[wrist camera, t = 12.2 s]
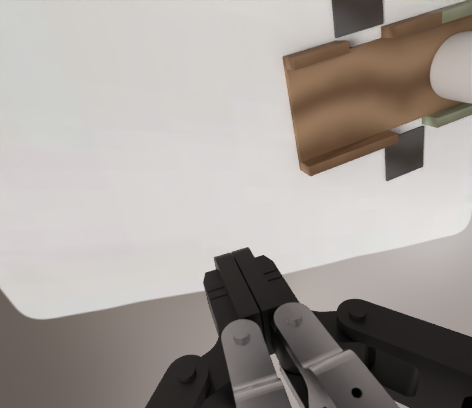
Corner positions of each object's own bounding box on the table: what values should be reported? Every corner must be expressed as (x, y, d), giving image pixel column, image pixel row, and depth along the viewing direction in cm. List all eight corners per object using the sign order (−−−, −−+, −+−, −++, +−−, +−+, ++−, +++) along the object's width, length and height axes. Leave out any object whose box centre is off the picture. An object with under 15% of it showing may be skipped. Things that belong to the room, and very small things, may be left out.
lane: (272, -11, 35) (290, -16, 32) (496, -70, 40) (533, -80, 37) (306, 212, 47) (323, 225, 44) (475, 144, 53) (501, 151, 49)
